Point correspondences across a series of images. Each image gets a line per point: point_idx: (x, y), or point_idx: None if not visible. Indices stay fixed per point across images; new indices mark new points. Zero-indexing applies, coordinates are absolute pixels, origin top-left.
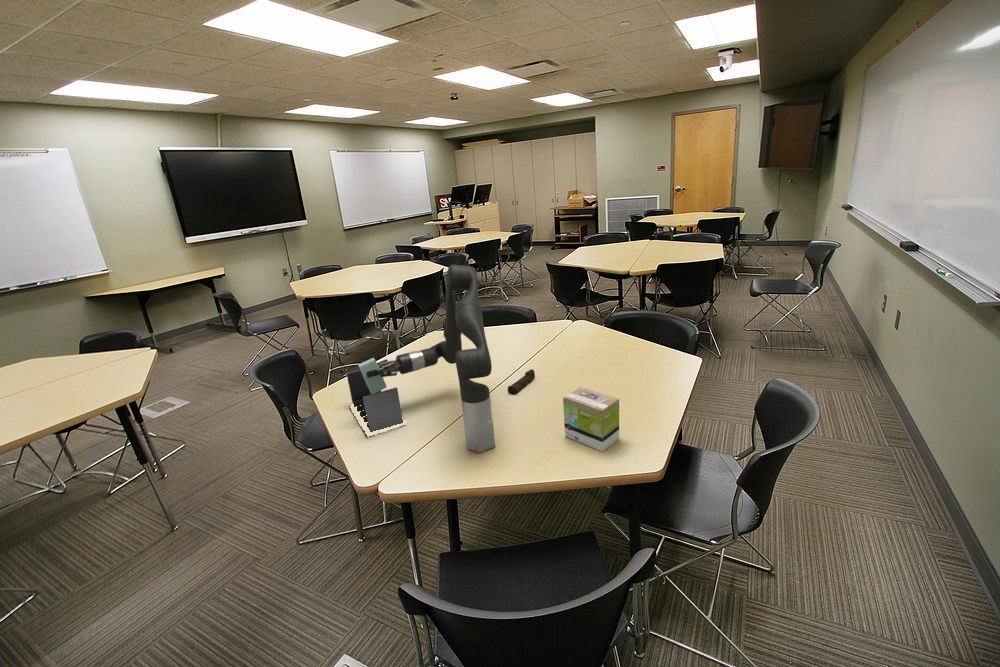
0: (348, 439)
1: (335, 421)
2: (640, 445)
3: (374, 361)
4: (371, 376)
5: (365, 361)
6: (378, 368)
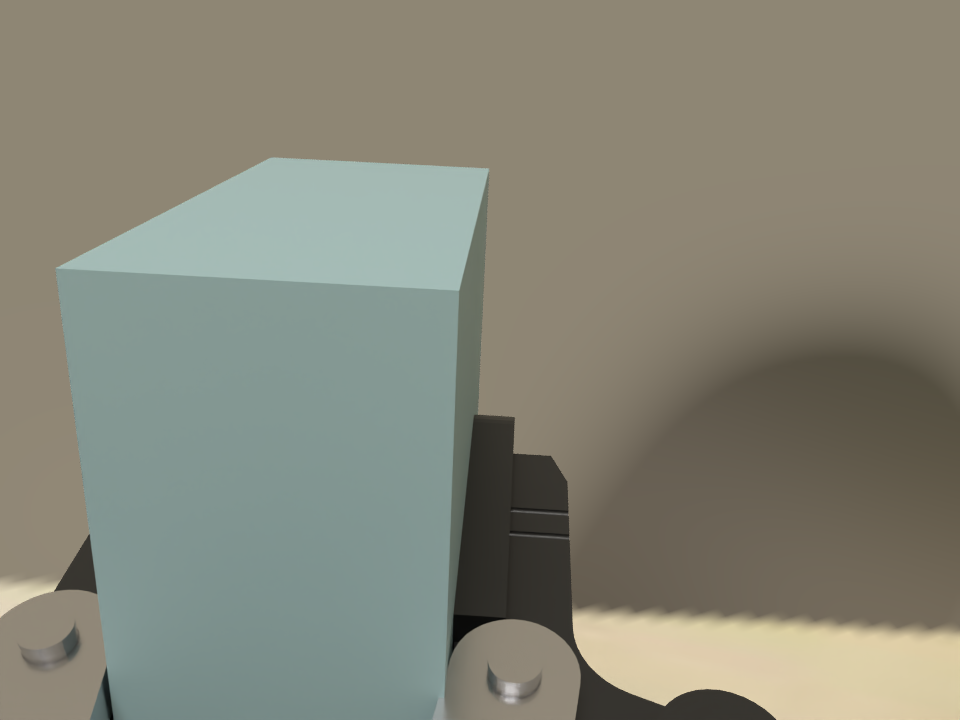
0: None
1: (657, 646)
2: None
3: (92, 305)
4: None
5: (458, 207)
6: (110, 650)
